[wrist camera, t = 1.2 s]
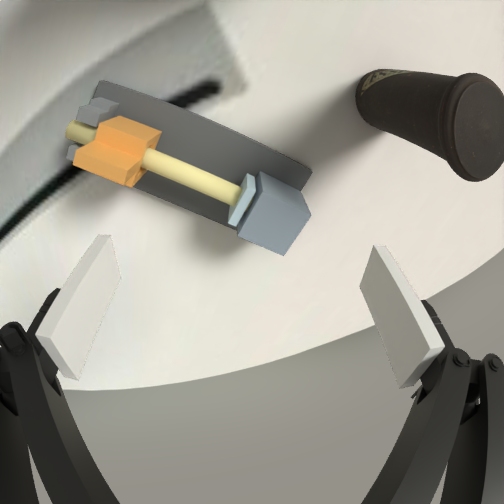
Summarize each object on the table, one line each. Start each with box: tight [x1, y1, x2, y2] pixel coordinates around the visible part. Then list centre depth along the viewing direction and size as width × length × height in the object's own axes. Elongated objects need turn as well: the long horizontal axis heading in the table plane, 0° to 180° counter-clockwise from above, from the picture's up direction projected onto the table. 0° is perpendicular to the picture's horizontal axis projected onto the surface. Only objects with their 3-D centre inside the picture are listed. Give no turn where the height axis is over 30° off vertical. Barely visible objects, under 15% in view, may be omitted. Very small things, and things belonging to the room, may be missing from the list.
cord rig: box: [65, 81, 313, 256], centre depth 32 cm, size 30×12×8 cm, turn 63°
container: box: [356, 69, 504, 182], centre depth 22 cm, size 9×9×20 cm
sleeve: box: [73, 116, 162, 188], centre depth 28 cm, size 6×6×10 cm
